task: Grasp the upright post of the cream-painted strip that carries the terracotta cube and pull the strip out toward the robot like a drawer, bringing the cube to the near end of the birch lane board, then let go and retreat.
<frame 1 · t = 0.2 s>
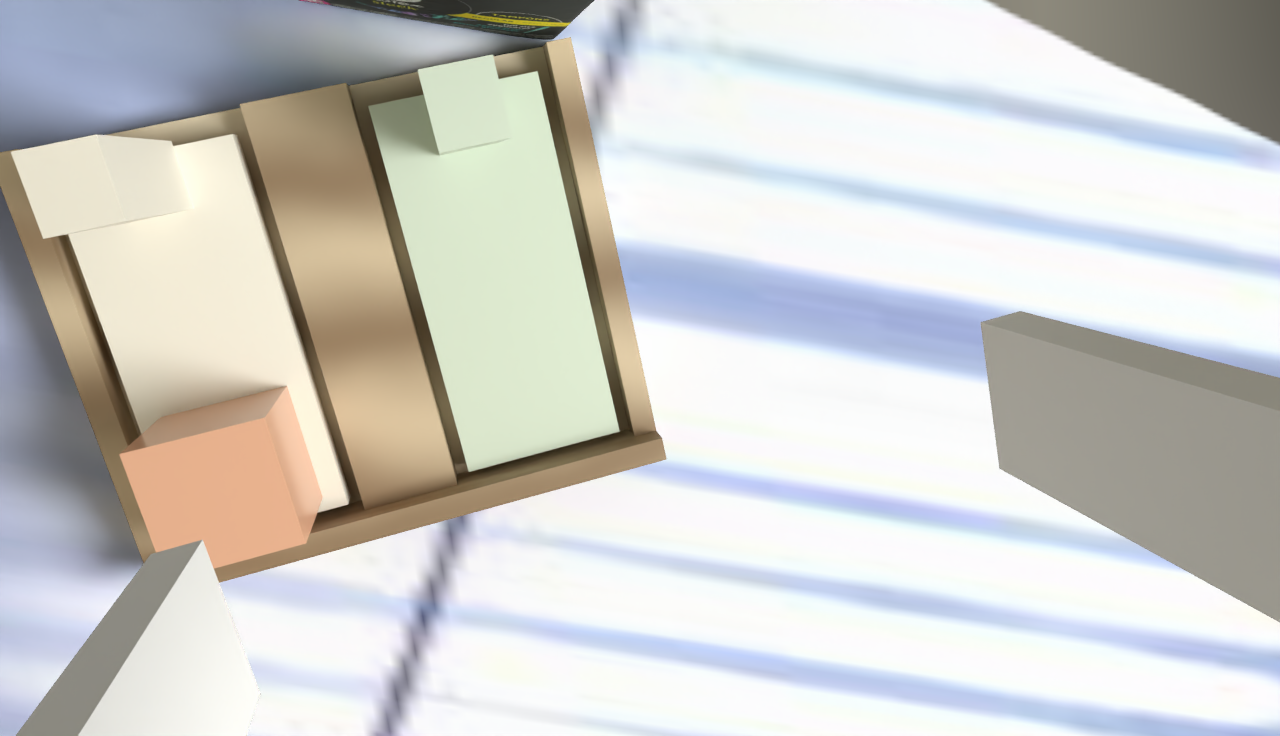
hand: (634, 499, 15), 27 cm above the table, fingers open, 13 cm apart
pale green l-shaped bracket: (506, 287, 36), point 6 cm above the table, slide at 0.0 cm
lane board: (363, 309, 40), on the table
cube: (243, 458, 38), point 2 cm above the table, touching strip cream
strip cream: (182, 365, 34), point 6 cm above the table, slide at 0.0 cm, touching cube
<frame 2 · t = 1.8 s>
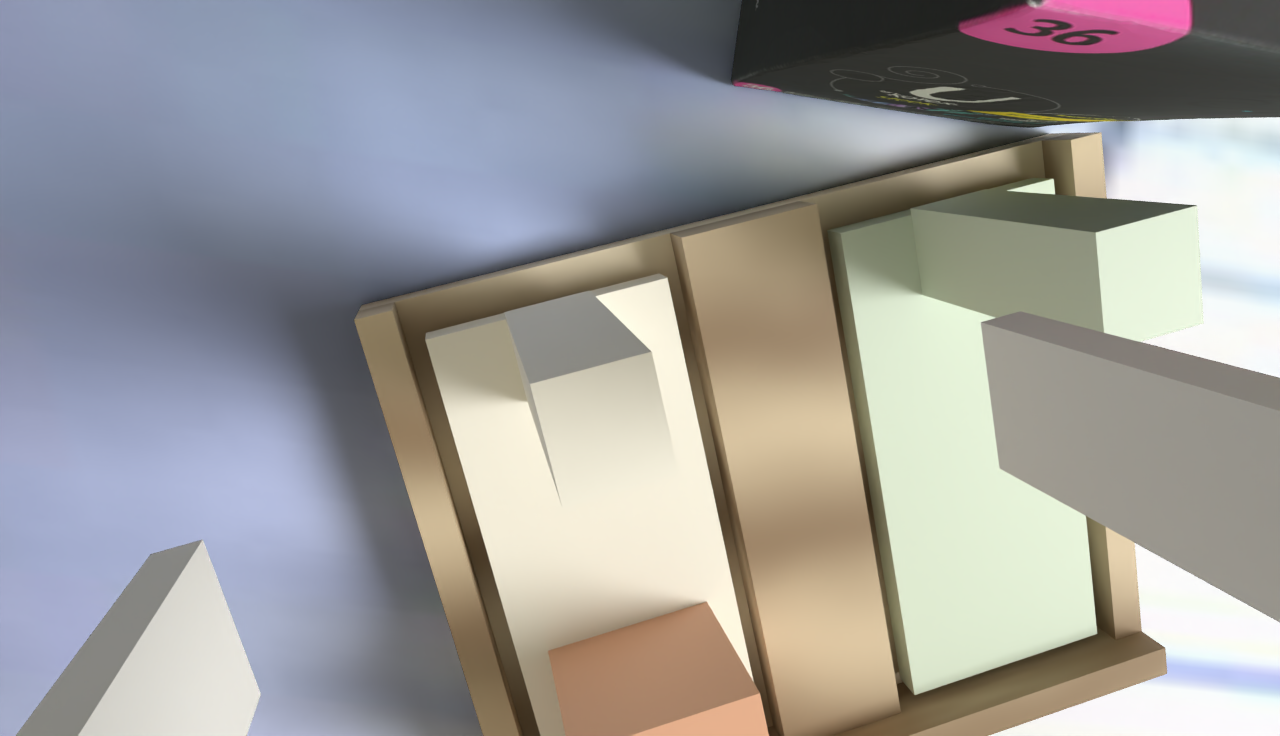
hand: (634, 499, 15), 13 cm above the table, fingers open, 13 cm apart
pale green l-shaped bracket: (1049, 487, 26), point 6 cm above the table, slide at 0.0 cm
lane board: (777, 484, 31), on the table
cube: (646, 695, 29), point 2 cm above the table, touching strip cream
strip cream: (634, 615, 24), point 6 cm above the table, slide at 0.0 cm, touching cube
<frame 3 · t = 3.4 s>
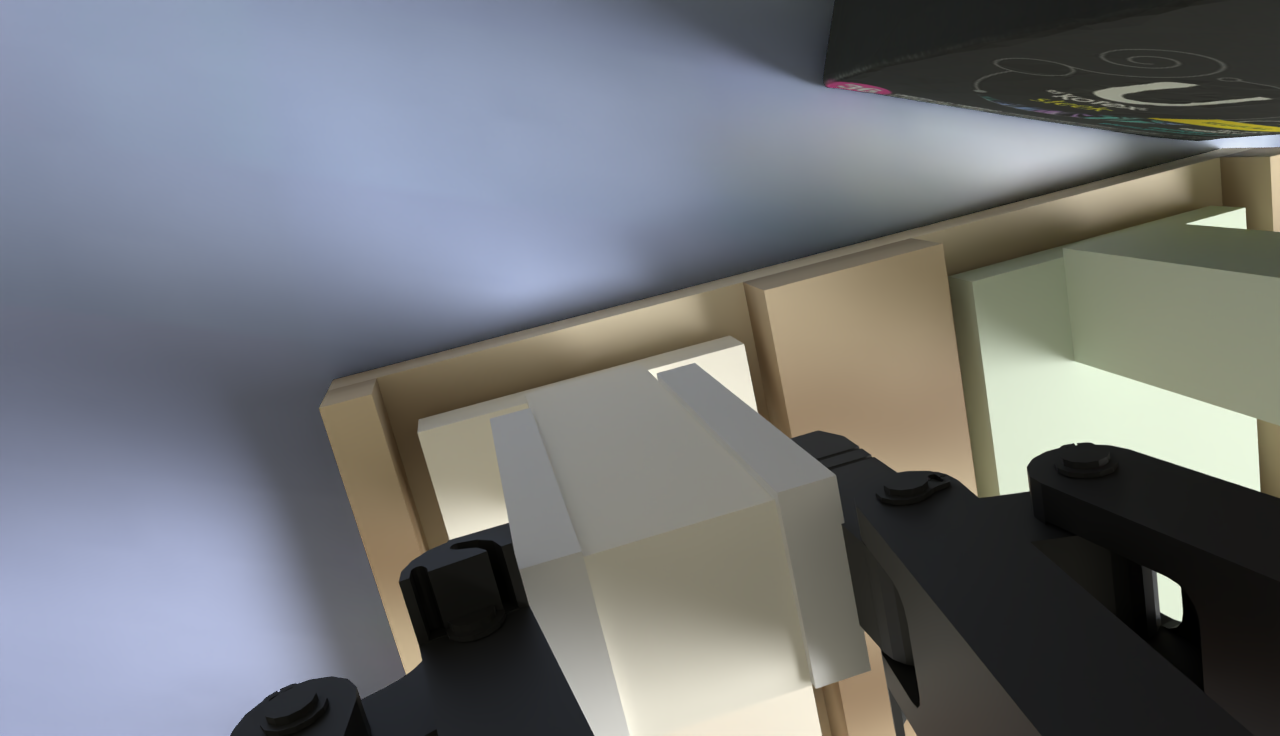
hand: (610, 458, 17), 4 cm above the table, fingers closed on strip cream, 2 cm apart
pale green l-shaped bracket: (1263, 625, 19), point 6 cm above the table, slide at 0.0 cm
lane board: (870, 598, 24), on the table
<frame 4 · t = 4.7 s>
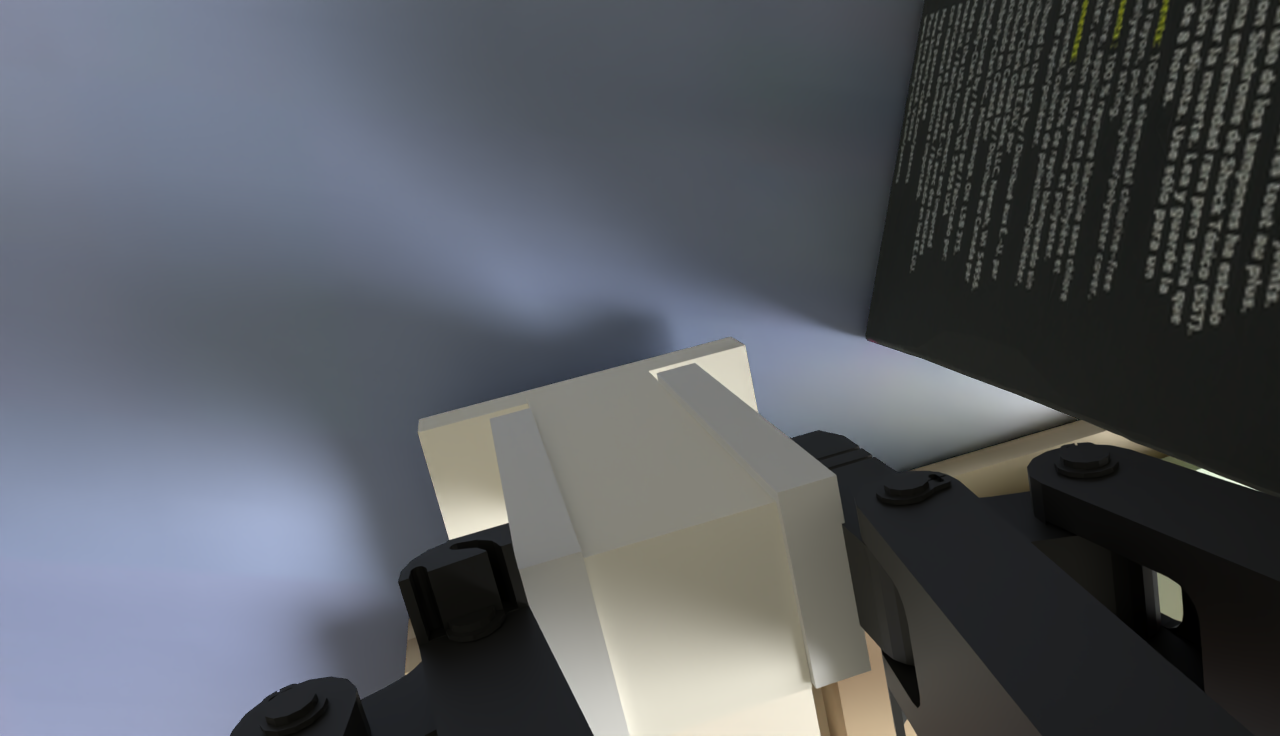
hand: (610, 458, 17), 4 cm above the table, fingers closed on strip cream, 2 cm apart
tampon box: (1087, 172, 23), on the table
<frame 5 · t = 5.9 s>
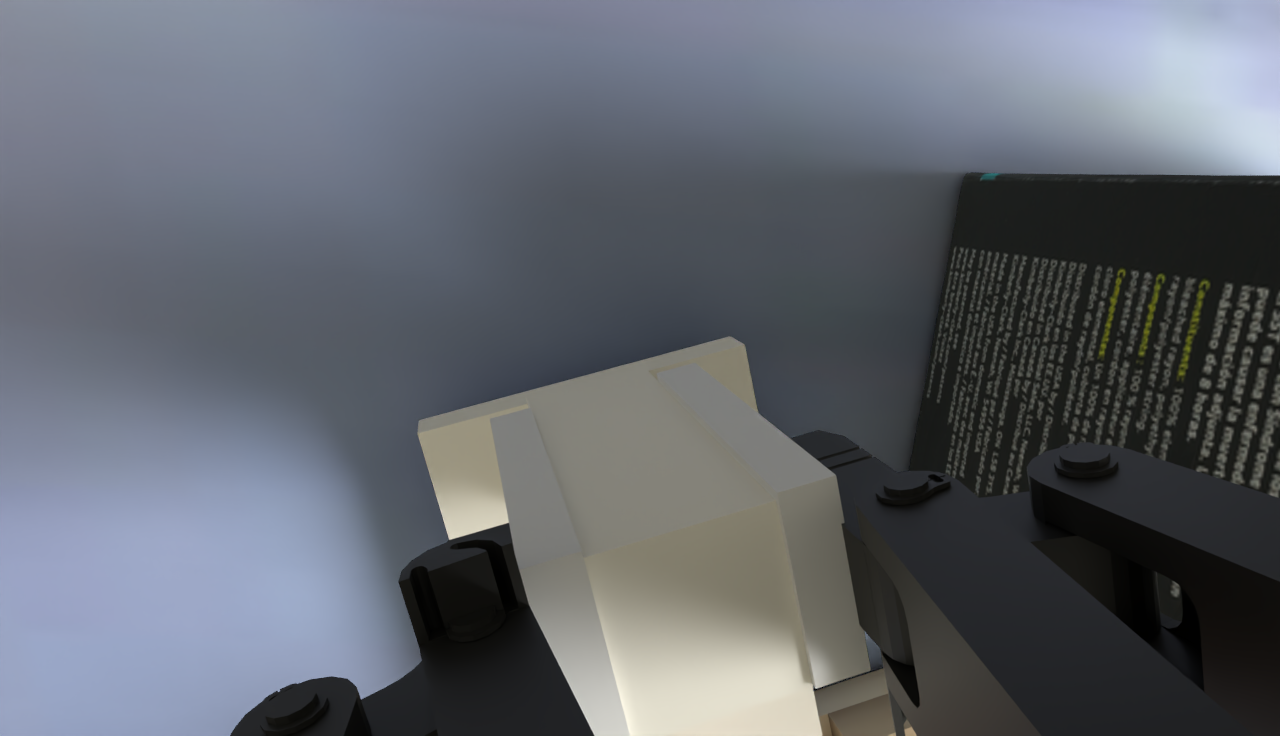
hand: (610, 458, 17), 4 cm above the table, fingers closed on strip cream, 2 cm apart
tampon box: (1105, 370, 24), on the table
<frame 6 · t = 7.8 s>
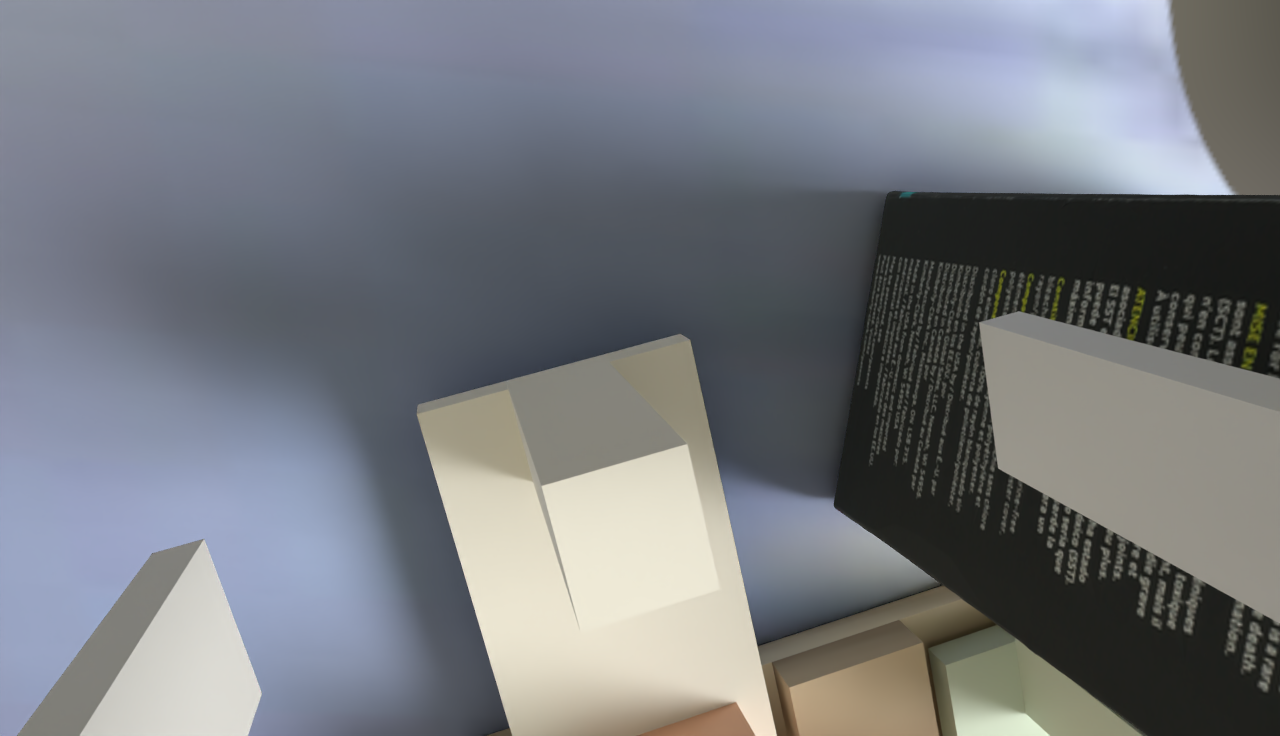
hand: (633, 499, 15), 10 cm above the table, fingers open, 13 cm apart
tampon box: (1013, 363, 28), on the table, touching gripper
strip cream: (659, 732, 21), point 6 cm above the table, slide at 11.0 cm, touching cube
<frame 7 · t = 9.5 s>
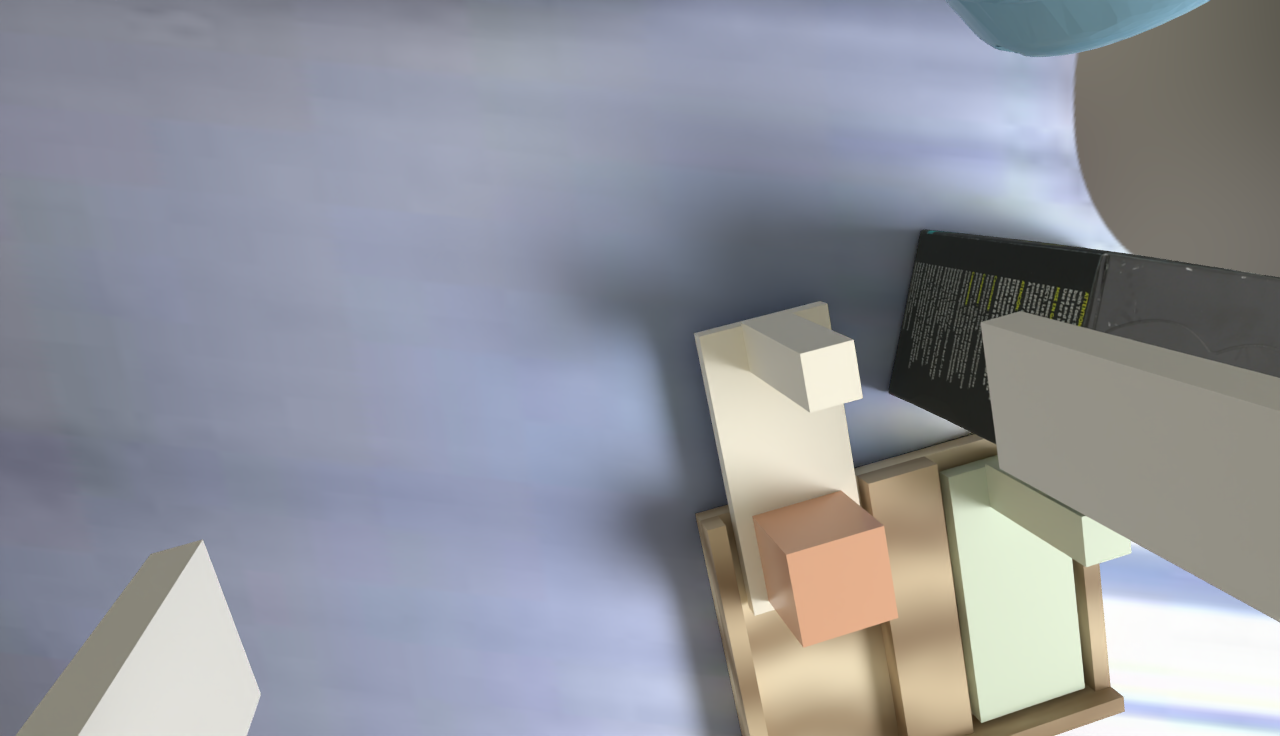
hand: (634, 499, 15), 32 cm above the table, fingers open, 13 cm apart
tampon box: (986, 320, 52), on the table
pale green l-shaped bracket: (1058, 614, 49), point 6 cm above the table, slide at 0.0 cm
lane board: (904, 602, 54), on the table
cube: (804, 546, 49), point 2 cm above the table, touching strip cream
strip cream: (815, 485, 45), point 6 cm above the table, slide at 11.0 cm, touching cube
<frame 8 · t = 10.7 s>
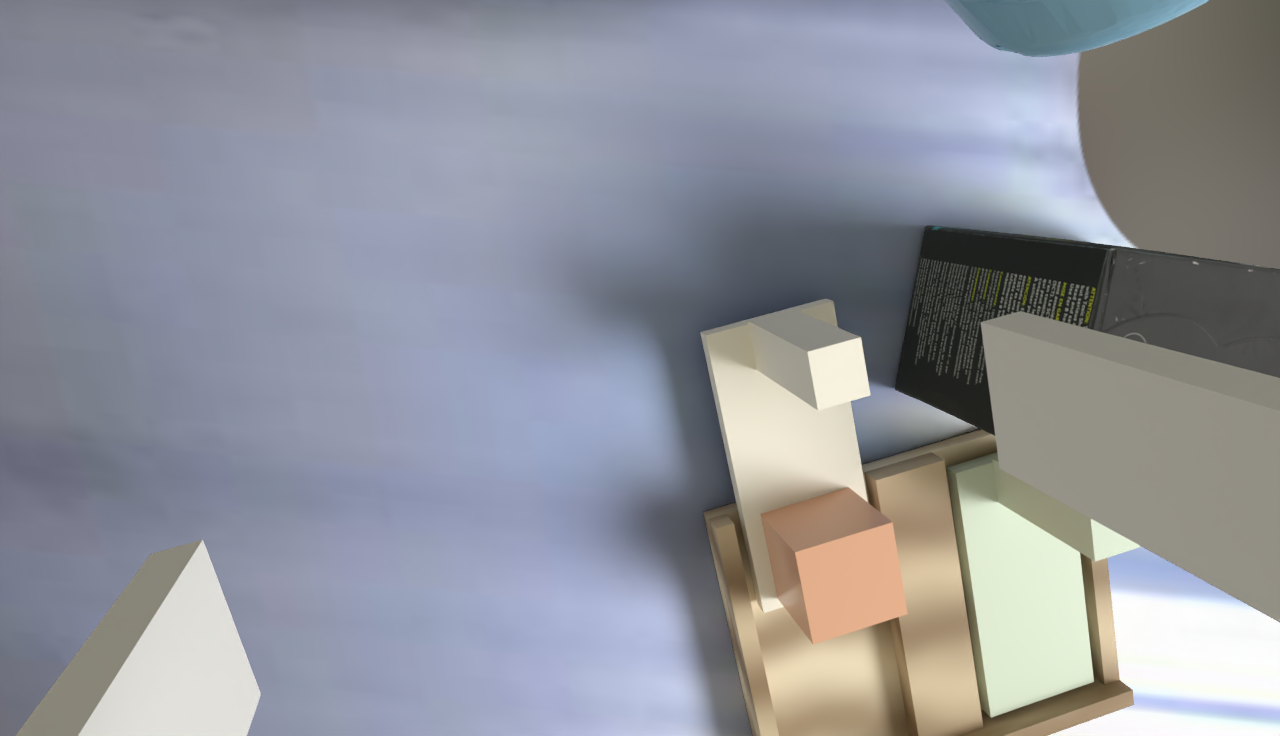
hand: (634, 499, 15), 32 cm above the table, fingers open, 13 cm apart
tampon box: (992, 316, 52), on the table
pale green l-shaped bracket: (1067, 609, 49), point 6 cm above the table, slide at 0.0 cm
lane board: (912, 598, 54), on the table
cube: (812, 543, 50), point 2 cm above the table, touching strip cream
strip cream: (823, 482, 45), point 6 cm above the table, slide at 11.0 cm, touching cube
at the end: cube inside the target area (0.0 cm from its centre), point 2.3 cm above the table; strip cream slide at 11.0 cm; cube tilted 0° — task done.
